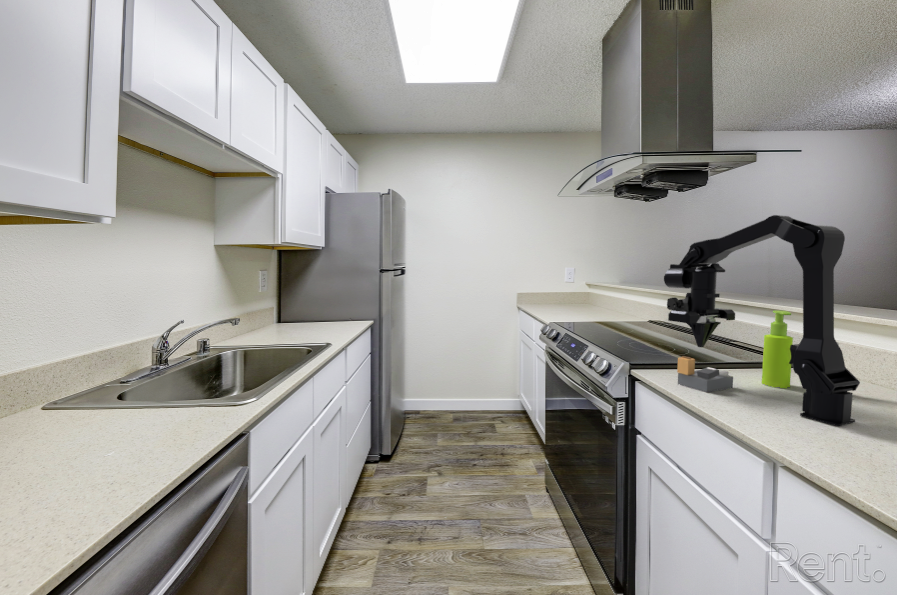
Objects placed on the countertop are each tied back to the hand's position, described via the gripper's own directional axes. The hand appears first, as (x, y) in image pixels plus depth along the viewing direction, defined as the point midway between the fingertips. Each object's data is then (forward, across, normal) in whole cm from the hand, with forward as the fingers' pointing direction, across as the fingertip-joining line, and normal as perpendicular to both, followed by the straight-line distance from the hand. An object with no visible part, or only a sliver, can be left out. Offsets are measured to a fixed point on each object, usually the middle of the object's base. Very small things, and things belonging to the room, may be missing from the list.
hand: (700, 347), depth 110 cm
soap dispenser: (+10, -16, +10) cm, 22 cm away
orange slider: (+7, +6, 0) cm, 9 cm away
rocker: (+6, +4, +5) cm, 9 cm away
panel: (+10, +2, +3) cm, 10 cm away
